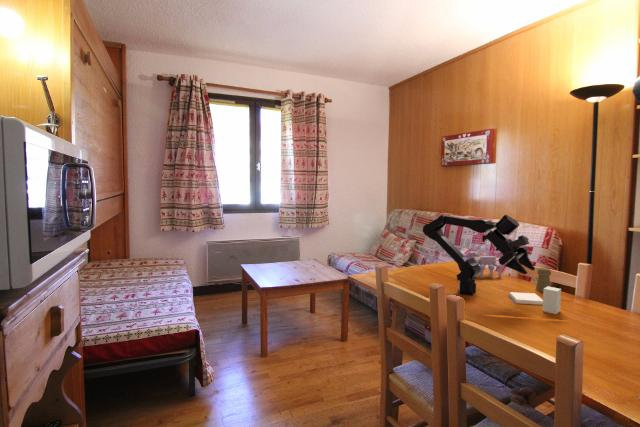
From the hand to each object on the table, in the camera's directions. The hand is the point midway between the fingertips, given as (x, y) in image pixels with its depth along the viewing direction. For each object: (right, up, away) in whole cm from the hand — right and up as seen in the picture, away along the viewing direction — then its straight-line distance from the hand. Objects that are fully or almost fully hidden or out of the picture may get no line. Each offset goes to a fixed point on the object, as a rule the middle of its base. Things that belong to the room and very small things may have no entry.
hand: (530, 271), depth 139 cm
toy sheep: (+2, -11, +48) cm, 49 cm away
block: (+4, -15, -6) cm, 17 cm away
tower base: (+2, -14, +7) cm, 16 cm away
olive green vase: (+18, -13, +20) cm, 30 cm away
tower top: (+2, -13, +7) cm, 15 cm away
